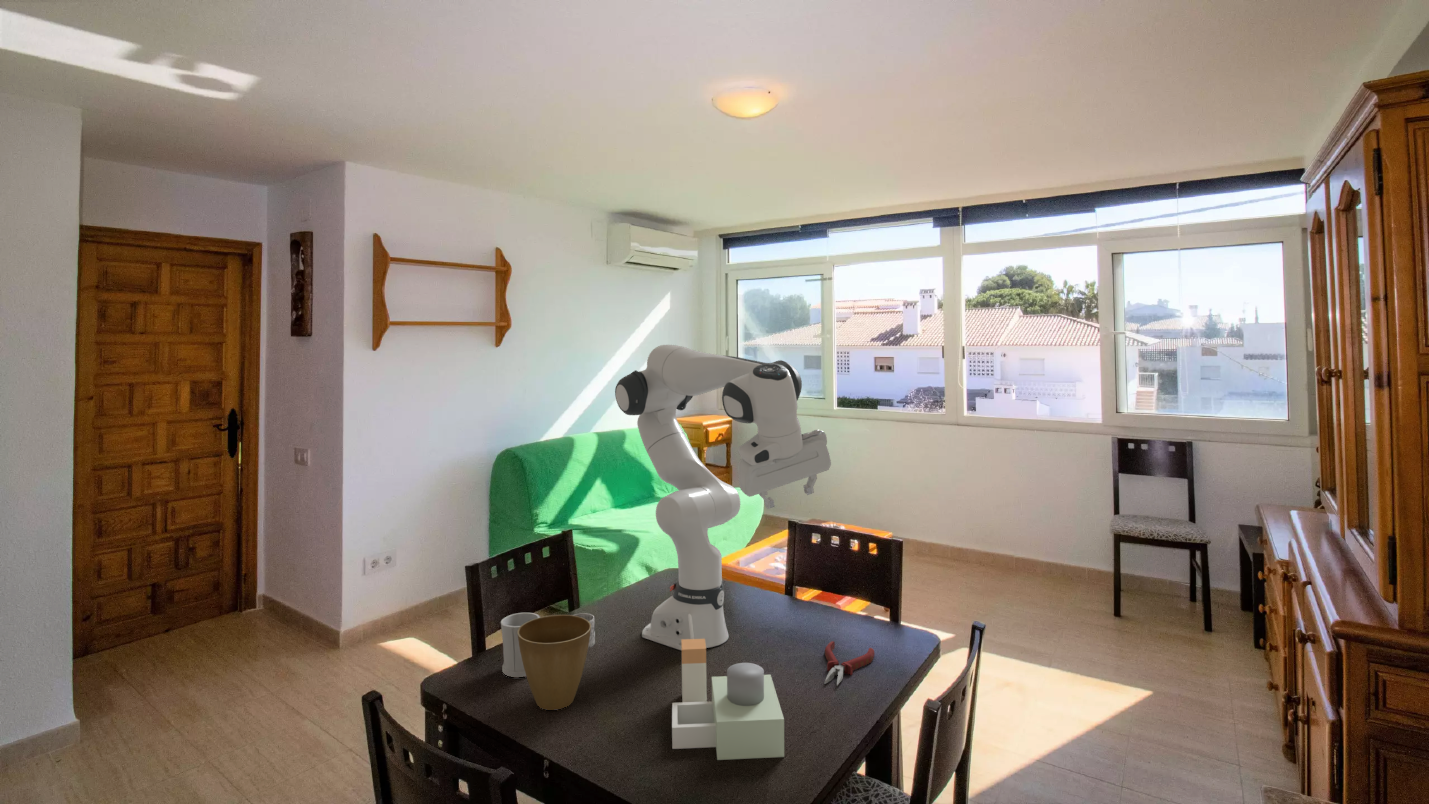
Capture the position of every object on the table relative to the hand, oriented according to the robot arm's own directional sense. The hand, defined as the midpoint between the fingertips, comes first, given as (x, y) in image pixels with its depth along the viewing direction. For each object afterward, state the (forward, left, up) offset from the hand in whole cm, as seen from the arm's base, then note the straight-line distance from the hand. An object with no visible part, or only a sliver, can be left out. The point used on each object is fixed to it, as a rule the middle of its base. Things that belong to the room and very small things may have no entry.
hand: (789, 500), depth 143 cm
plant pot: (-42, -27, -41) cm, 65 cm away
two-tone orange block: (-16, -14, -41) cm, 46 cm away
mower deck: (-5, -23, -41) cm, 47 cm away
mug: (-57, -1, -41) cm, 70 cm away
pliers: (+6, +15, -42) cm, 45 cm away
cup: (-58, -19, -41) cm, 74 cm away
